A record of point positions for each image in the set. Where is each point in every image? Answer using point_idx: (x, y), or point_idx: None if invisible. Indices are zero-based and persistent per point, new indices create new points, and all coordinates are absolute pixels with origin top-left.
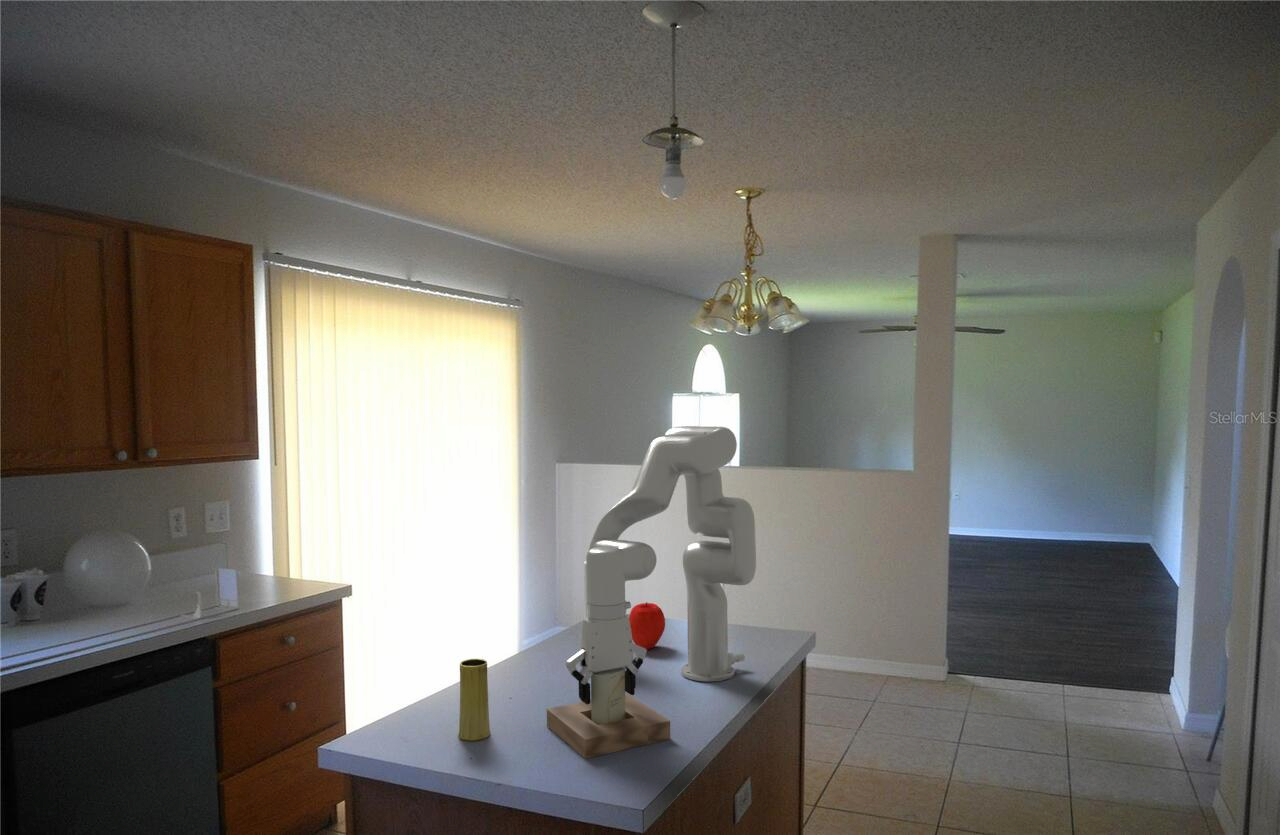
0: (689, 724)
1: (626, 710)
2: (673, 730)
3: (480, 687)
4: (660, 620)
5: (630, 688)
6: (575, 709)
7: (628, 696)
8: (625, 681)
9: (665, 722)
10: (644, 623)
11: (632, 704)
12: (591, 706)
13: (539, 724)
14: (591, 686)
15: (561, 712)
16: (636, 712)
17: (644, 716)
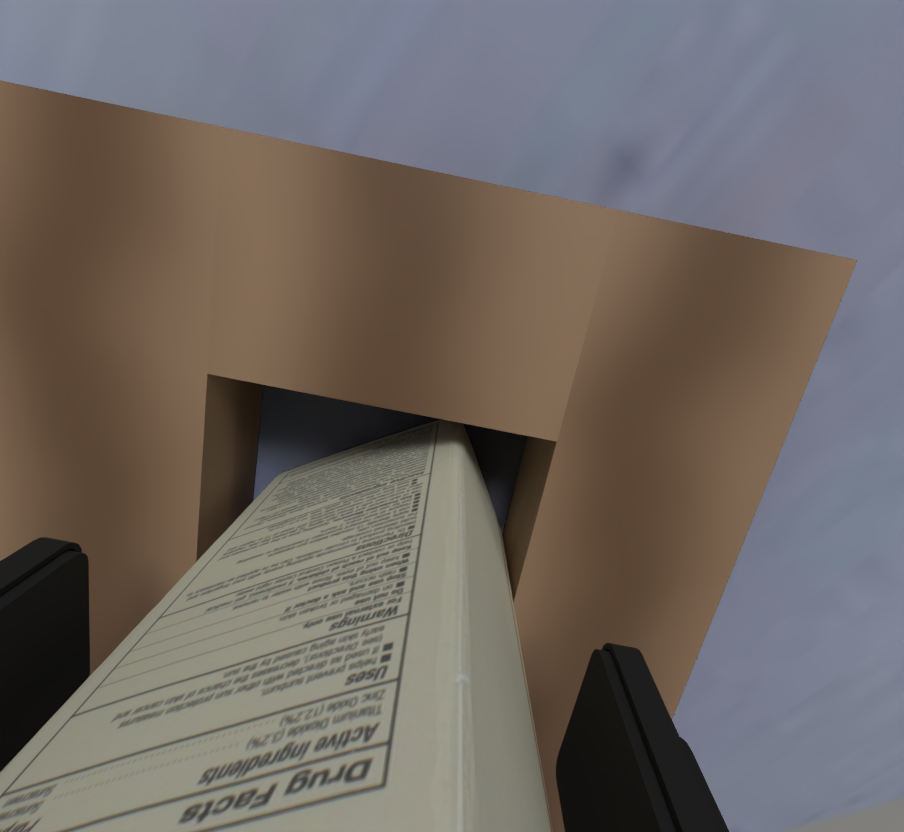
0: (816, 700)
1: (533, 587)
2: (685, 702)
3: None
4: None
5: (570, 824)
6: (205, 291)
7: (797, 352)
8: (619, 779)
9: None
10: None
11: (663, 525)
12: (182, 578)
13: (59, 39)
14: (24, 755)
15: (59, 267)
16: (558, 661)
17: (544, 742)
